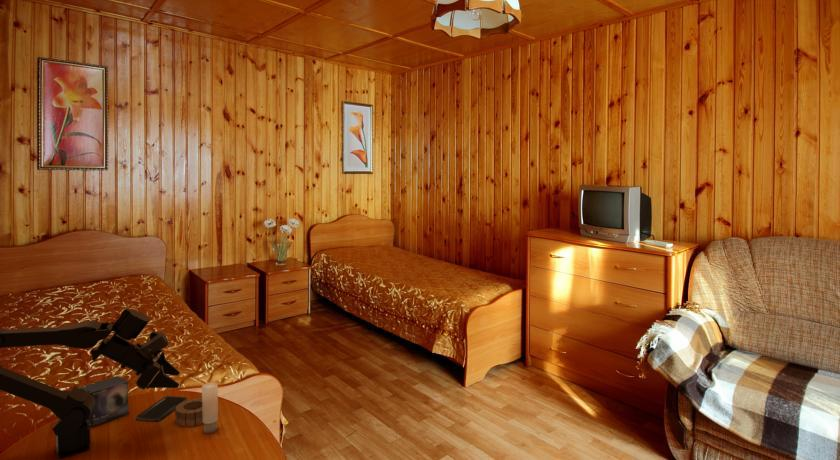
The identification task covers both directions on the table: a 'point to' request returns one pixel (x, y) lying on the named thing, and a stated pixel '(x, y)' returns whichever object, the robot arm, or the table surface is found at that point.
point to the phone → (160, 409)
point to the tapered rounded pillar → (210, 407)
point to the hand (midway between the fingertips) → (178, 380)
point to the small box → (108, 400)
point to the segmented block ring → (189, 413)
